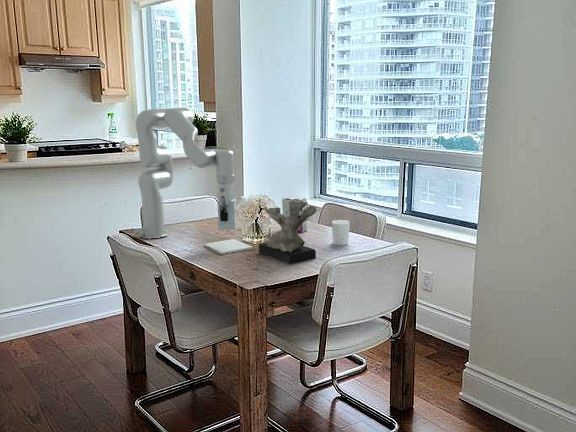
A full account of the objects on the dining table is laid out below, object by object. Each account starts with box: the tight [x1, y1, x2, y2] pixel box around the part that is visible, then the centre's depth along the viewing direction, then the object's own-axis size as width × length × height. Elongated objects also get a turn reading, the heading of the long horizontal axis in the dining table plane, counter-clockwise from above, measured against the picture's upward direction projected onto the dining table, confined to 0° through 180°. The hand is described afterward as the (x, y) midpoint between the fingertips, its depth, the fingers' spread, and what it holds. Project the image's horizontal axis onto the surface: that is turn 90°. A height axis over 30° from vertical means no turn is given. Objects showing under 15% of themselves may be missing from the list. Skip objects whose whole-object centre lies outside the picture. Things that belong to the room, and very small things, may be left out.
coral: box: [258, 201, 318, 265], centre depth 239 cm, size 25×20×22 cm
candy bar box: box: [281, 196, 308, 234], centre depth 278 cm, size 11×5×16 cm, turn 60°
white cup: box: [331, 219, 351, 246], centre depth 254 cm, size 8×8×10 cm
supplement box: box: [217, 197, 237, 231], centre depth 248 cm, size 7×7×13 cm
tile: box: [203, 238, 253, 255], centre depth 251 cm, size 15×17×1 cm
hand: (227, 218), depth 249 cm, fingers closed on supplement box, 8 cm apart
